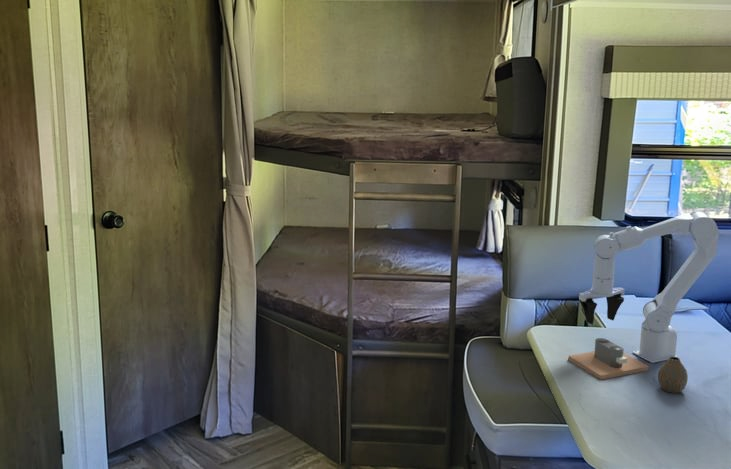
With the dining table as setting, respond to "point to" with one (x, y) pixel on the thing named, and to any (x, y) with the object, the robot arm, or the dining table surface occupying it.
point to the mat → (604, 370)
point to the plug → (609, 353)
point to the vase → (672, 375)
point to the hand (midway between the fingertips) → (600, 321)
